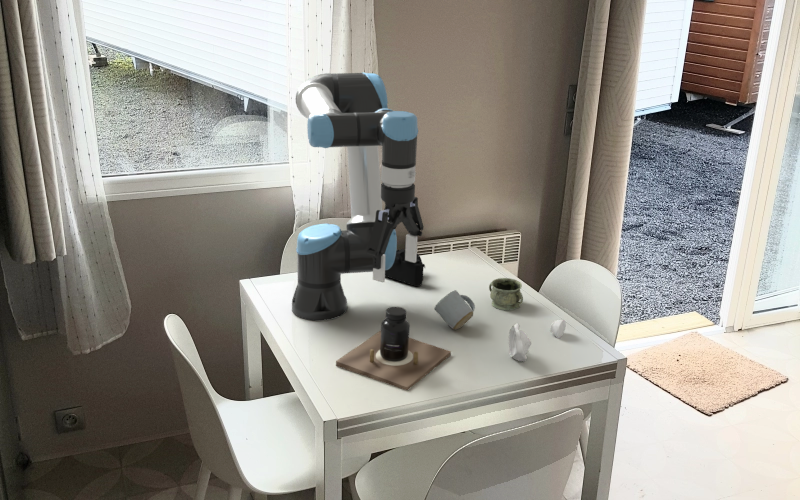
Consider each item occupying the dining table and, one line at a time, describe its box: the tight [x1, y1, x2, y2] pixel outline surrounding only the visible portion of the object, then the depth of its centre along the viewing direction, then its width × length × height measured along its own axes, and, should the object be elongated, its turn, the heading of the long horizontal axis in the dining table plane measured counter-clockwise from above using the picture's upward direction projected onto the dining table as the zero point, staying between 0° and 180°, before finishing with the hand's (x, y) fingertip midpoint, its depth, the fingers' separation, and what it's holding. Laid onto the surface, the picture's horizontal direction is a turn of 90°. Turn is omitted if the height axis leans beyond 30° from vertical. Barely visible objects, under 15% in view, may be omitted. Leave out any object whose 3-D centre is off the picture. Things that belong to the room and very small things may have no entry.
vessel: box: [488, 277, 524, 311], centre depth 218 cm, size 12×9×6 cm
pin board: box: [335, 330, 452, 391], centre depth 187 cm, size 20×20×4 cm
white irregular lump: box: [549, 319, 567, 339], centre depth 201 cm, size 5×3×5 cm, turn 149°
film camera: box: [385, 248, 426, 287], centre depth 234 cm, size 15×10×9 cm, turn 53°
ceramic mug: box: [434, 289, 476, 331], centre depth 204 cm, size 11×8×8 cm
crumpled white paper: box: [508, 322, 532, 362], centre depth 188 cm, size 10×4×10 cm, turn 5°
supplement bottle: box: [380, 306, 411, 362], centre depth 185 cm, size 7×7×12 cm
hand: (395, 270), depth 180 cm, fingers open, 13 cm apart
